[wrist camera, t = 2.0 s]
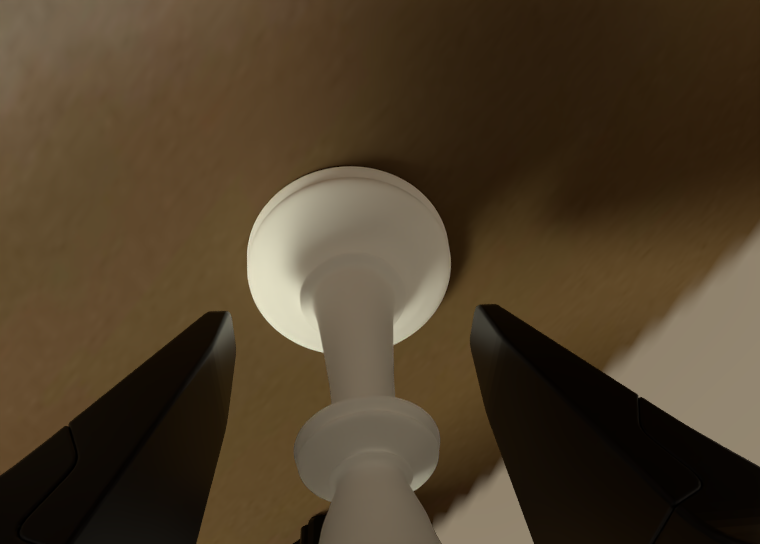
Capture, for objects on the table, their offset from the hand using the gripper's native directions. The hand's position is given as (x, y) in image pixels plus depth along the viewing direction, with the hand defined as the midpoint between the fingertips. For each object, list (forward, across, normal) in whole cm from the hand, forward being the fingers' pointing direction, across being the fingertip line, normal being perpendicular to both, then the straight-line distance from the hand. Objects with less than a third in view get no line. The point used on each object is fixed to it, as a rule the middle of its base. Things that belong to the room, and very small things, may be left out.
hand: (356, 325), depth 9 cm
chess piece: (+3, 0, 0) cm, 3 cm away
